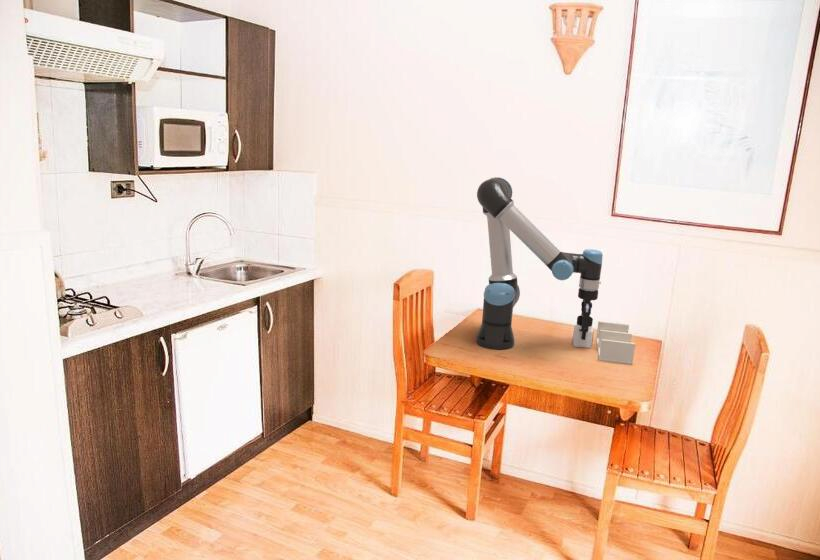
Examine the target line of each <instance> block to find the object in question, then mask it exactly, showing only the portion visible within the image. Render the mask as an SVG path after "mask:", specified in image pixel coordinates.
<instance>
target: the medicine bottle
mask: <svg viewBox="0 0 820 560" xmlns="http://www.w3.org/2000/svg"><path fill="white" fill-rule="evenodd" d="M582 317H583V315H578V316H577V317H576V324H574V325H573V334H572V345H573V347H575V348H576V347H577V348H580V347H579V339H580V331H579V330H581V327H582ZM593 319H594V318H593V317H591V316H590V318H589V326H588V333H587V341H586V347H582V348H584V349H592V347H593V339H594V329H593V321H594V320H593ZM585 329H586V328H585Z"/></svg>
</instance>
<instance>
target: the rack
mask: <svg viewBox="0 0 820 560" xmlns="http://www.w3.org/2000/svg"><path fill="white" fill-rule="evenodd" d="M629 328H630V324H626V323H621V322H620V323H619V322H611V321H610V322H609V321H602V320H601V321H600V320H598V323H597V329H596V338H595V339H596V340H595V341H596V346H597V347H596V348H597V354H598V360H599V361H603V362H613V363H618V364H619V363H621V364H626V365H627V364H628V365H633V362H634V356H635V349H636V348H635V347H636V342H632V338H633V337H632V336H633V333H632V332H629V331H630V330H629Z"/></svg>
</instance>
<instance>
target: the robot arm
mask: <svg viewBox="0 0 820 560" xmlns="http://www.w3.org/2000/svg"><path fill="white" fill-rule="evenodd" d="M512 197H513V188H512V185H511V184H510V182H509V181H508V180H507V179H505V178H502V177H499V176H498V177H496V176H494V177H491V178H489V179H486V180H484V181H483V182H481V183H480V185H479V186H478V188H477V192H476V198H477V202H478V203H479V205H480V206H481V207H482V214H483V215H485V216H486V219H487V231H488V243H489V253H490V254H489V255H490V266H491V274H490V276H489V277H488V285H486V287H485V288H484V292H483V305H482V306H483V307H482V316H481V317H482V320H481V324H480V327H479V329H478V332H477V334H476V337H475V342H476V344H477V345H479V346H480V347H484V348H488V349H492V350H507V349H508V350H509V349H511V348H513V347H514V346H515V335H514V331H513V328H512V321H513V311H514V308H515V306H516V305H517V303H518V302H519V299H520V296H521V290H520V286H519V285H518V276H517V275H516V274H515V273H514V271H513V270H514V269H513V258H512V243H511V232H512V234H514V235H515V236H516V238H518V239H519V240H520V242H521V243H523V244H524V245H525V246H526V248H528V249H529V250H530V251H531V252H532V253H533V254H534V255H535V256H536V257H537V258H538V259H539V261H541V262H542V263H543V264H544V265H545V266H546V267H547V268H548V269H549V270H550V271H551V273H552V276H553V277H554V278H555V279H556V280H558V281H566V280H568V279H569V278H570V277H572V274H574V273H576V274H580V275H579V276H580V277H579V283H578V293H577V296H578V299H581V300H582V301H581V304H580V305H581V315H583V317H582V327H581V330H579V331H580V339H579V347H578V348H583V347H586V341H587V333H588V326H589V318H590V317H591V314H592V309H593V303H592V301H596V300H597V299H598V296H599V288H600V285H601V284H602V282H601V281H600V279H601V272H602V267H603V266H602V265H603V257H604V256H603V254H604V253H603V252H602V251H601V250H597V249H591V248H589V249H584V250H583V252H582V253H574V252H563V251H561V250H560V249H559V248H558V247H557V246H555V245H554V243H553V242H551V240H549V238H547V236H546V235H544V233H543V232H542V231H540V229H539V228H538V227H536V225H534V224H533V222H532V221H530V219H528V218H527V217H526V215H525V214H523V212H521V210H519V208H518V207H516V205H514V200H513V199H512ZM585 328H586V329H585Z"/></svg>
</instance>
